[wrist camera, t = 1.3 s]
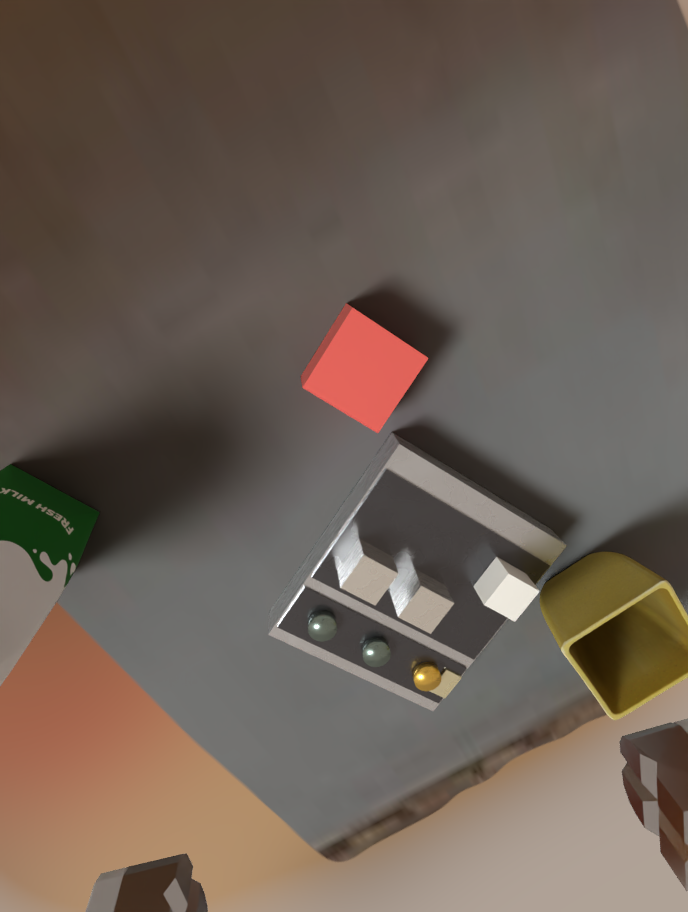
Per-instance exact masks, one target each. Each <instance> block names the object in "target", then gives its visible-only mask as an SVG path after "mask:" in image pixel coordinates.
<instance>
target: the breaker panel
mask: <svg viewBox="0 0 688 912" xmlns="http://www.w3.org/2000/svg"><path fill="white" fill-rule="evenodd" d="M566 546H567V545H566V544H565V543H564V542H563V541H562V540H561V539H560V538H559V537H558V536H557V535H556V534H555V533H554V532H553V531H552V530H551V529H550V528H548V527H547V526H545V525H544V524H542V523H540V522H539V521H537V520H535V519H534V518H532V517H530V516H529V515H527V514H526V513H524V512H522V511H521V510H519V509H517V508H516V507H514V506H512V505H511V504H509V503H508V502H506V501H504V500H503V499H501V498H499V497H498V496H496V495H494V494H493V493H491V492H490V491H488V490H486V489H485V488H483V487H481V486H480V485H478V484H476V483H475V482H473V481H471V480H470V479H468V478H467V477H465V476H463V475H462V474H460V473H458V472H457V471H455V470H453V469H452V468H450V467H449V466H447V465H445V464H444V463H442V462H440V461H439V460H437V459H435V458H434V457H432V456H431V455H429V454H427V453H426V452H424V451H422V450H421V449H419V448H417V447H416V446H414V445H413V444H411V443H409V442H408V441H406V440H404V439H403V438H401V437H399V436H398V435H396V434H394V433H393V432H391V434H390V435H389V437H388V438H387V440H386V441H385V443H384V444H383V446H382V447H381V448H380V450H379V451H378V453H377V454H376V456H375V457H374V459H373V460H372V462H371V463H370V465H369V466H368V468H367V469H366V470H365V472H364V473H363V475H362V476H361V478H360V479H359V481H358V482H357V484H356V485H355V487H354V488H353V490H352V491H351V492H350V494H349V495H348V497H347V498H346V500H345V501H344V503H343V504H342V506H341V507H340V509H339V510H338V512H337V513H336V514H335V516H334V517H333V519H332V520H331V522H330V523H329V525H328V526H327V528H326V529H325V531H324V532H323V534H322V535H321V536H320V538H319V539H318V541H317V542H316V544H315V545H314V547H313V548H312V550H311V551H310V553H309V554H308V556H307V557H306V558H305V560H304V561H303V563H302V564H301V566H300V567H299V569H298V570H297V572H296V573H295V575H294V576H293V578H292V579H291V580H290V582H289V583H288V585H287V586H286V588H285V589H284V591H283V592H282V594H281V595H280V597H279V598H278V600H277V601H276V603H275V604H274V605H273V607H272V608H271V610H270V611H269V629H268V635H270V636H273V637H275V638H277V639H279V640H281V641H283V642H286V643H288V644H290V645H292V646H294V647H296V648H298V649H301V650H303V651H305V652H307V653H309V654H311V655H313V656H316V657H318V658H320V659H322V660H324V661H326V662H328V663H331V664H333V665H335V666H337V667H339V668H341V669H344V670H346V671H348V672H350V673H352V674H354V675H356V676H359V677H361V678H363V679H365V680H367V681H369V682H371V683H374V684H376V685H378V686H380V687H382V688H384V689H386V690H389V691H391V692H393V693H395V694H397V695H399V696H401V697H404V698H406V699H408V700H410V701H412V702H414V703H417V704H419V705H421V706H423V707H425V708H427V709H429V710H432V711H434V710H435V708H436V707H437V706H438V705H439V703H440V702H441V701H442V700H443V698H446V697H447V695H448V694H449V693H450V692H451V690H452V689H453V688H454V687H455V685H456V684H457V683H458V682H459V680H460V679H461V678H462V677H461V676H462V675H463V674H464V672H465V671H466V670H467V669H468V668H469V666H470V665H471V664H472V663H473V661H474V660H475V659H476V658H477V656H478V655H479V654H480V653H481V651H482V650H483V649H484V648H485V647H486V645H487V644H488V643H489V642H490V640H491V639H492V638H493V637H494V635H495V634H496V633H497V632H498V630H499V629H500V628H501V627H502V625H503V624H504V623H505V622H506V621H507V619H508V618H507V617H505V616H503V615H502V614H500V613H498V612H496V611H494V610H492V609H491V608H489V607H487V606H485V605H484V604H483V602H482V601H481V599H480V597H479V596H478V594H477V592H476V590H475V589H474V587H473V586H474V585H475V584H476V582H477V581H478V580H479V578H480V577H481V576H482V575H483V573H484V572H485V571H486V569H487V568H488V567H489V566H490V564H491V563H492V562H493V560H494V559H495V558H496V557H498V558H500V559H502V560H503V561H505V562H507V563H509V564H510V565H512V566H514V567H515V568H517V569H519V570H521V571H522V572H524V573H526V574H527V575H528V577H529V578H530V579H531V581H532V582H533V583H534V585H536V583H537V582H538V581H539V580H540V579H541V577H542V576H543V575H544V574H545V572H546V571H547V570H548V569H549V567H550V566H551V565H552V564H553V562H554V561H555V560H556V559H557V558H558V556H559V555H560V554H561V553H562V551H563V550H564V549H565V548H566Z"/></svg>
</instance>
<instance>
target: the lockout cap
mask: <svg viewBox="0 0 688 912" xmlns="http://www.w3.org/2000/svg"><path fill="white" fill-rule="evenodd" d="M427 360H428V357H426V356H425V355H423V354H422V353H420V352H419V351H417V350H416V349H414V348H413V347H411V346H410V345H408V344H407V343H405V342H404V341H402V340H401V339H399V338H398V337H396V336H395V335H393V334H392V333H390V332H389V331H387V330H386V329H384V328H383V327H381V326H380V325H378V324H377V323H375V322H374V321H372V320H371V319H369V318H368V317H366V316H365V315H363V314H362V313H360V312H359V311H357V310H356V309H354V308H353V307H351V306H350V305H348V304H347V303H346V304H345V306H344V307H343V309H342V311H341V312H340V314H339V316H338V317H337V319H336V320H335V322H334V324H333V325H332V327H331V328H330V330H329V332H328V333H327V335H326V336H325V338H324V340H323V341H322V343H321V344H320V346H319V348H318V349H317V351H316V352H315V354H314V356H313V357H312V359H311V361H310V362H309V364H308V365H307V367H306V369H305V370H304V372H303V373H302V375H301V381H302V388H304V389H306V390H307V391H309V392H311V393H312V394H314V395H316V396H317V397H319V398H321V399H322V400H324V401H325V402H327V403H329V404H330V405H332V406H334V407H335V408H337V409H339V410H340V411H342V412H344V413H345V414H347V415H349V416H350V417H352V418H354V419H355V420H357V421H359V422H360V423H362V424H363V425H365V426H367V427H368V428H370V429H372V430H373V431H375V432H377V433H378V432H379V431H380V429H381V428H382V426H383V425H384V424H385V422H386V421H387V419H388V418H389V416H390V415H391V413H392V412H393V410H394V409H395V407H396V406H397V404H398V403H399V401H400V400H401V398H402V397H403V395H404V394H405V392H406V391H407V389H408V388H409V387H410V385H411V384H412V382H413V381H414V379H415V378H416V376H417V375H418V373H419V372H420V370H421V369H422V367H423V366H424V364H425V363H426V361H427Z"/></svg>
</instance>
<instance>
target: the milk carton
mask: <svg viewBox="0 0 688 912" xmlns="http://www.w3.org/2000/svg"><path fill="white" fill-rule="evenodd" d="M99 513H100V512H98V511H96V510H94V509H93V508H91V507H89V506H87V505H85V504H83V503H81V502H80V501H78V500H76V499H74V498H72V497H70V496H68V495H67V494H65V493H63V492H61V491H59V490H57V489H56V488H54V487H52V486H50V485H48V484H46V483H44V482H43V481H41V480H39V479H37V478H35V477H33V476H31V475H30V474H28V473H26V472H24V471H22V470H20V469H18V468H17V467H15V466H13V465H11V464H10V465H8V466H7V467H5V468H4V469H2V470H1V471H0V686H1V684H2V683H3V681H4V680H5V679H6V677H7V676H8V675H9V673H10V672H11V670H12V669H13V667H14V666H15V664H16V663H17V661H18V660H19V658H20V657H21V655H22V654H23V652H24V651H25V649H26V647H27V646H28V645H29V643H30V641H31V640H32V638H33V637H34V635H35V634H36V632H37V631H38V629H39V628H40V626H41V625H42V623H43V622H44V620H45V619H46V617H47V616H48V614H49V613H50V611H51V609H52V608H53V606H54V605H55V603H56V602H57V600H58V599H59V597H60V595H61V594H62V592H63V591H64V589H65V587H66V585H67V584H68V582H69V580H70V578H71V577H72V575H73V573H74V571H75V569H76V568H77V566H78V563H79V561H80V559H81V556H82V554H83V551H84V549H85V546H86V544H87V542H88V539H89V537H90V534H91V532H92V529H93V527H94V525H95V522H96V520H97V518H98V515H99Z"/></svg>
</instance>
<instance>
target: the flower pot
mask: <svg viewBox="0 0 688 912" xmlns="http://www.w3.org/2000/svg"><path fill="white" fill-rule="evenodd" d="M540 607H541V611H542V613H543V616H544V618H545V620H546V622H547V624H548V626H549V628H550V630H551V632H552V634H553V635H554V637H555V639H556V641H557V643H558V645H559V647H560V649H561V651H562V653H563V654H564V655H565V657H566V658H567V659H568V660H569V662H570V663H571V664H572V666H573V667H574V668H575V670H576V671H577V673H578V674H579V675H580V677H581V678H582V679H583V681H584V682H585V684H586V685H587V687H588V688H589V689H590V691H591V692H592V693H593V695H594V696H595V698H596V699H597V701H598V702H599V704H600V705H601V706H602V708H603V709H604V711H605V712H606V714H607V715H608V716H609V717H610V718H611V719H613V720H618V719H620V718H622V717H623V716H625V715H627V714H629V713H630V712H632V711H634V710H635V709H637V708H638V707H640V706H641V705H643V704H645V703H646V702H648V701H649V700H651V699H653V698H654V697H656V696H657V695H659V694H661V693H662V692H664V691H666V690H667V689H669V688H671V687H672V686H674V685H676V684H677V683H679V682H681V681H683V680H684V679H686V678H688V615H687V613H686V611H685V609H684V607H683V605H682V604H681V602H680V600H679V598H678V597H677V595H676V593H675V591H674V589H673V587H672V586H671V584H670V583H669V582H668V581H667V580H665V579H664V578H662V577H661V576H659V575H657V574H656V573H654V572H653V571H651V570H649V569H648V568H646V567H644V566H643V565H641V564H639V563H638V562H636V561H635V560H633V559H631V558H629V557H627V556H625V555H623V554H619V553H615V552H597V553H592V554H589V555H587V556H586V557H584V558H583V559H581V560H580V561H578V562H576V563H575V564H573V565H572V566H570V567H569V568H567V569H566V570H564V571H563V572H561V573H560V574H558V575H556V576H555V577H553V578H552V579H550V580H549V581H547V582H546V583H545V584H544V586H543V588H542V590H541V593H540Z"/></svg>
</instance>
